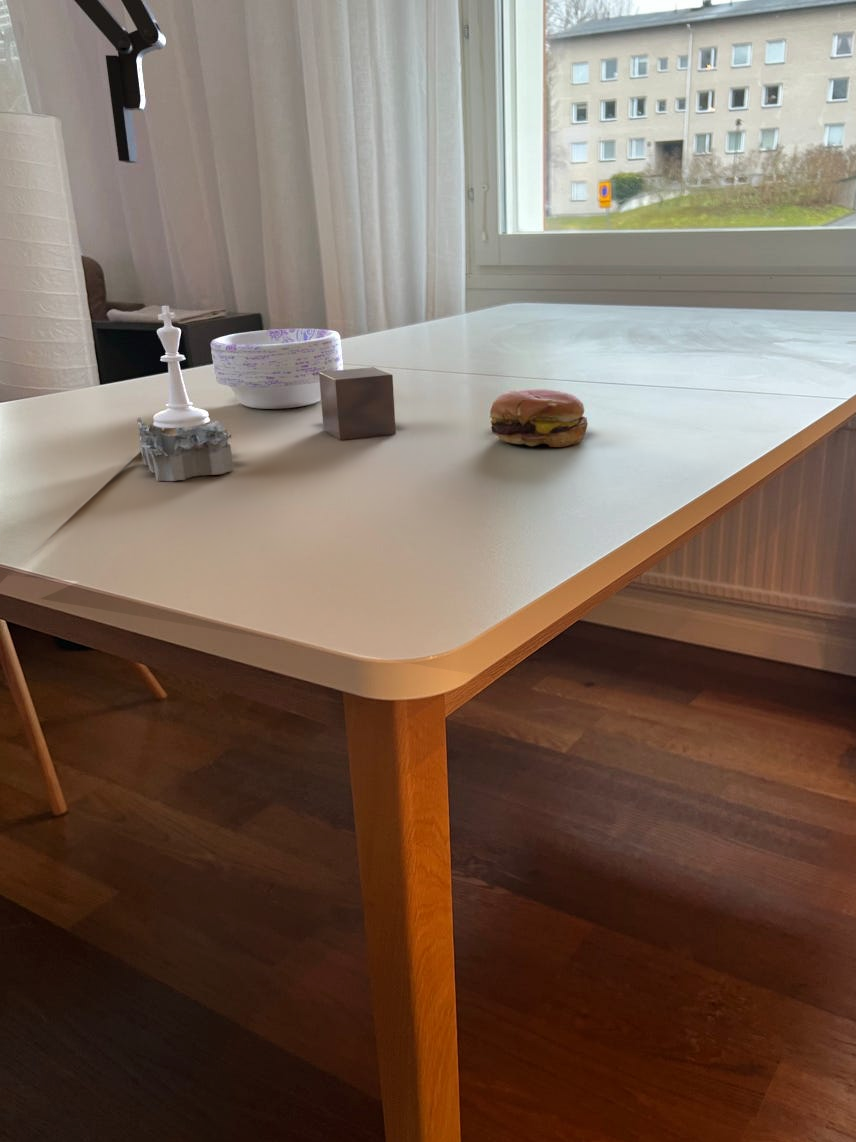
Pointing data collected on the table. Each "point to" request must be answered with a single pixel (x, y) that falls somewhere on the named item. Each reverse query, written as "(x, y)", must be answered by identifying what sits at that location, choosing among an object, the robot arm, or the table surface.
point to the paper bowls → (276, 365)
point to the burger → (538, 418)
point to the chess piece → (175, 382)
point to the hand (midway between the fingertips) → (31, 162)
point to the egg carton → (186, 451)
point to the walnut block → (357, 403)
